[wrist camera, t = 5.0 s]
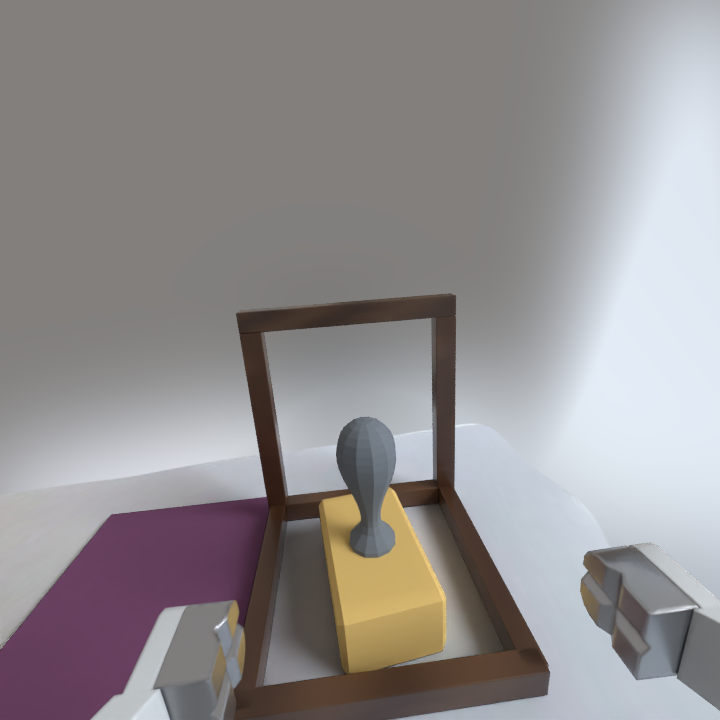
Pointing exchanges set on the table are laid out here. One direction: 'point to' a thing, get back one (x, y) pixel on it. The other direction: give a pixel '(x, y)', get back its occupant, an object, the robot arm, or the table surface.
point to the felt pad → (126, 603)
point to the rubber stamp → (377, 560)
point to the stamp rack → (425, 680)
